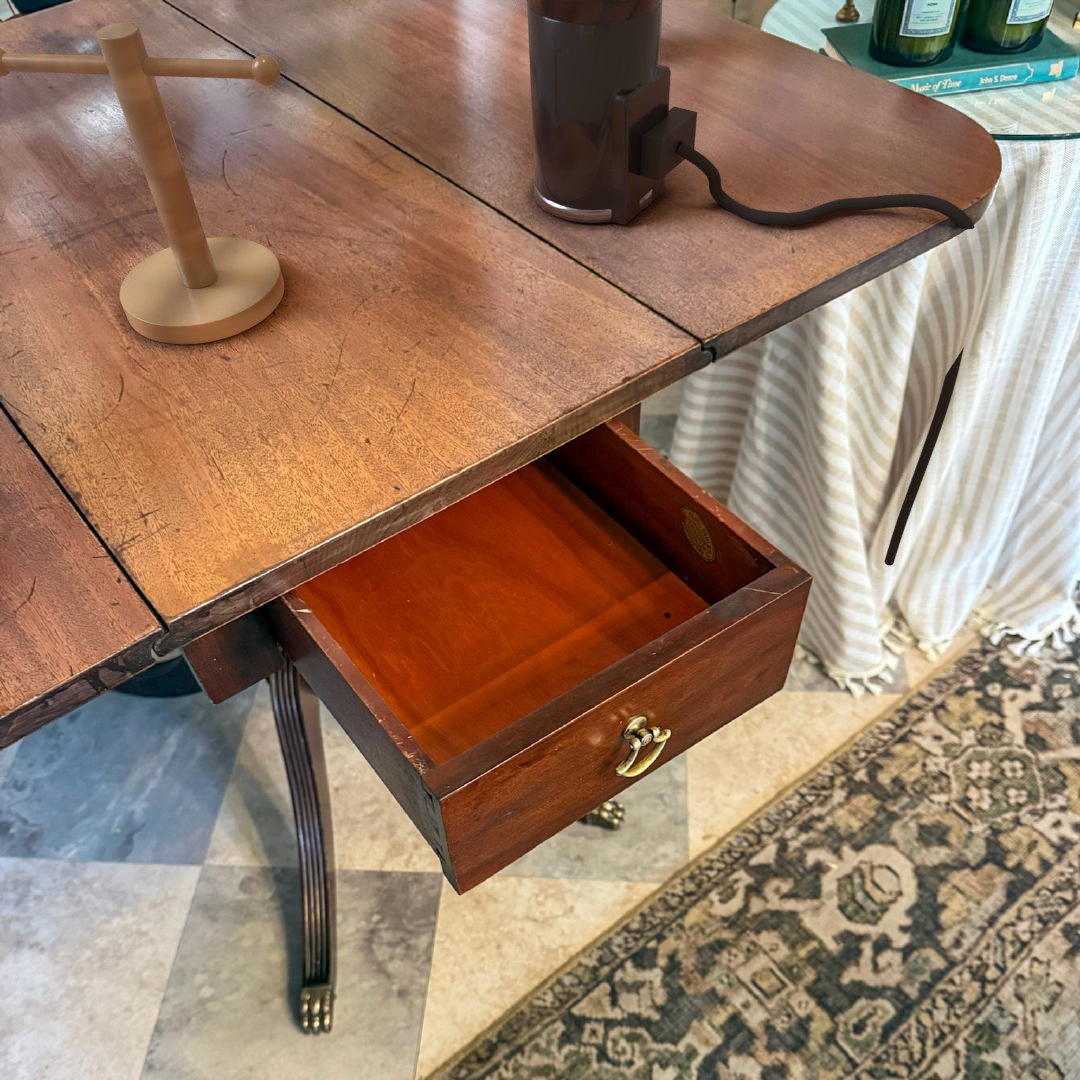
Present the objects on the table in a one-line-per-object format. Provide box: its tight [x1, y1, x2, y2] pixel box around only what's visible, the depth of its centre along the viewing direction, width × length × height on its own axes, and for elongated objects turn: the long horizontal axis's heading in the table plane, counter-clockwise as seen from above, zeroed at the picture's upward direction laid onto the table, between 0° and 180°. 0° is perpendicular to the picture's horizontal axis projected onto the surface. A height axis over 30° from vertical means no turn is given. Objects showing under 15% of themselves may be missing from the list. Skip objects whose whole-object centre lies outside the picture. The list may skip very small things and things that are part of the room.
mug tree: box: [0, 22, 285, 345], centre depth 64 cm, size 19×11×18 cm, turn 81°
